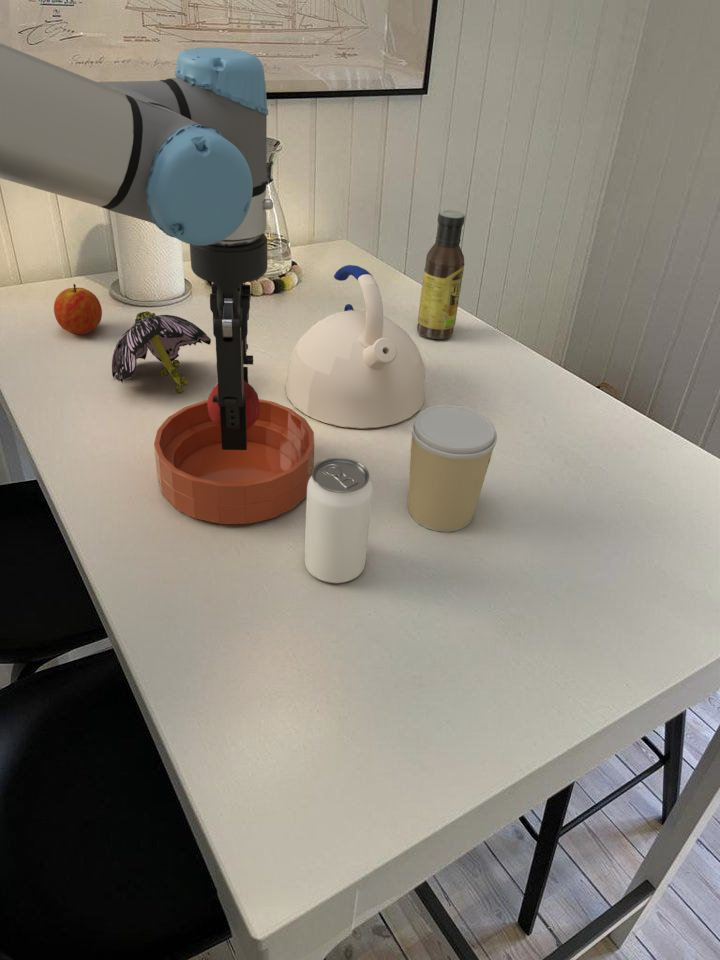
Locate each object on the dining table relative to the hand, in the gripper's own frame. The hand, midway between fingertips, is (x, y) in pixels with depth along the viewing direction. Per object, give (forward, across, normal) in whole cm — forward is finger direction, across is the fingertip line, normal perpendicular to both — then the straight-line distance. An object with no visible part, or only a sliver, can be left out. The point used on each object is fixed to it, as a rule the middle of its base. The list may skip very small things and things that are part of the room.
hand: (235, 431), depth 87 cm
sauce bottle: (+7, +41, -31) cm, 52 cm away
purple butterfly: (+7, +23, +12) cm, 27 cm away
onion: (0, 0, 0) cm, 1 cm away
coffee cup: (+7, -6, -24) cm, 26 cm away
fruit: (+7, +38, +26) cm, 47 cm away
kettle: (+7, +21, -16) cm, 27 cm away
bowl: (+7, 0, 0) cm, 7 cm away
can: (+7, -15, -11) cm, 20 cm away
